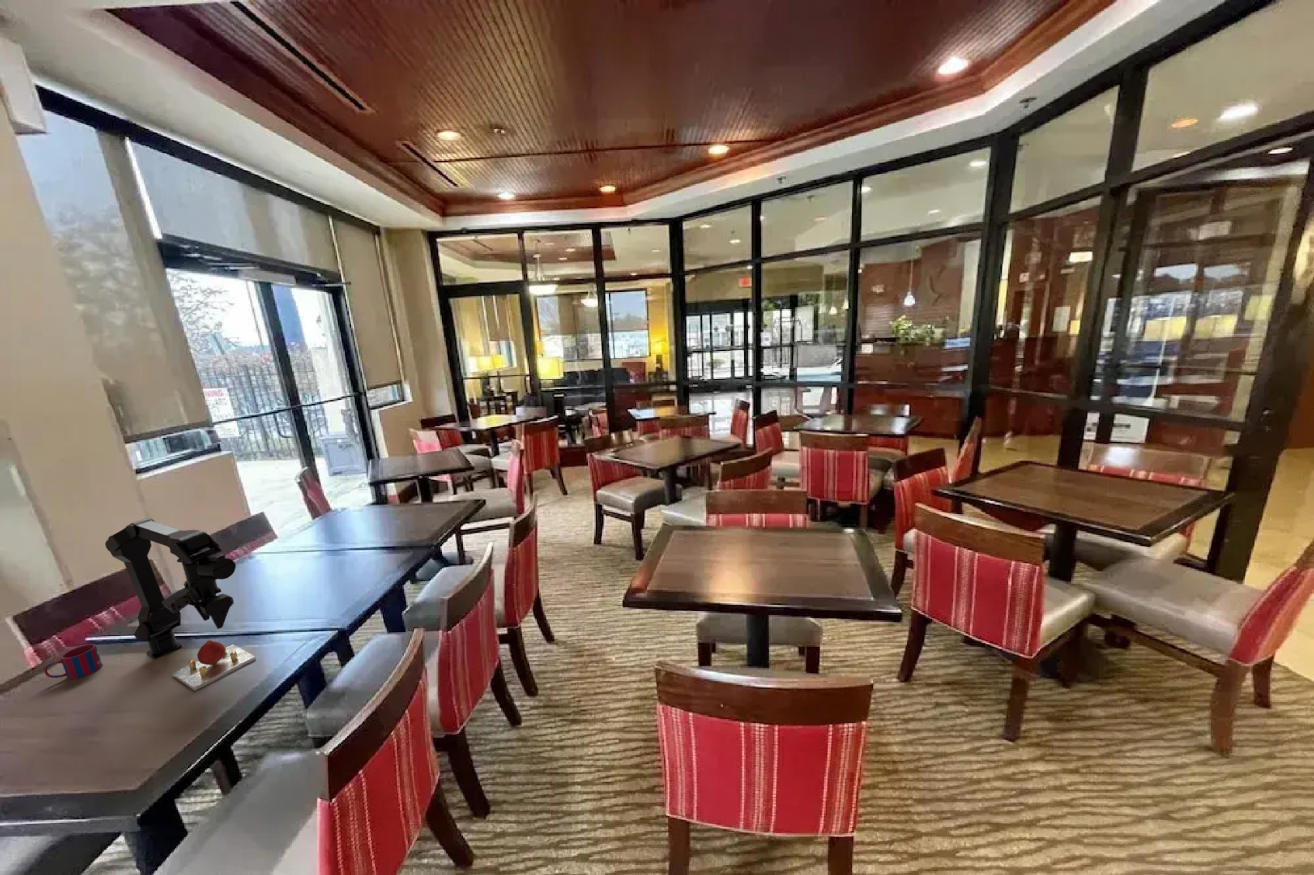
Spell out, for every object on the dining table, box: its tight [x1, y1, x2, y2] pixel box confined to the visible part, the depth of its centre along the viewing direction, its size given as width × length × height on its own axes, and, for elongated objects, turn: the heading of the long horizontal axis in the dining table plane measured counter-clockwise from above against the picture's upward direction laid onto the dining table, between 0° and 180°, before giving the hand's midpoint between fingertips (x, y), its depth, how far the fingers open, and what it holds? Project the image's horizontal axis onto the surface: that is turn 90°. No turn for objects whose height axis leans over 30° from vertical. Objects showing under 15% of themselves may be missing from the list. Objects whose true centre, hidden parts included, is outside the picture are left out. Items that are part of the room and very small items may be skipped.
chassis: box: [172, 644, 257, 692], centre depth 138 cm, size 14×14×4 cm
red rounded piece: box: [196, 639, 225, 665], centre depth 138 cm, size 6×6×8 cm
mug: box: [43, 643, 103, 680], centre depth 138 cm, size 7×10×7 cm
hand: (213, 623), depth 140 cm, fingers open, 9 cm apart
